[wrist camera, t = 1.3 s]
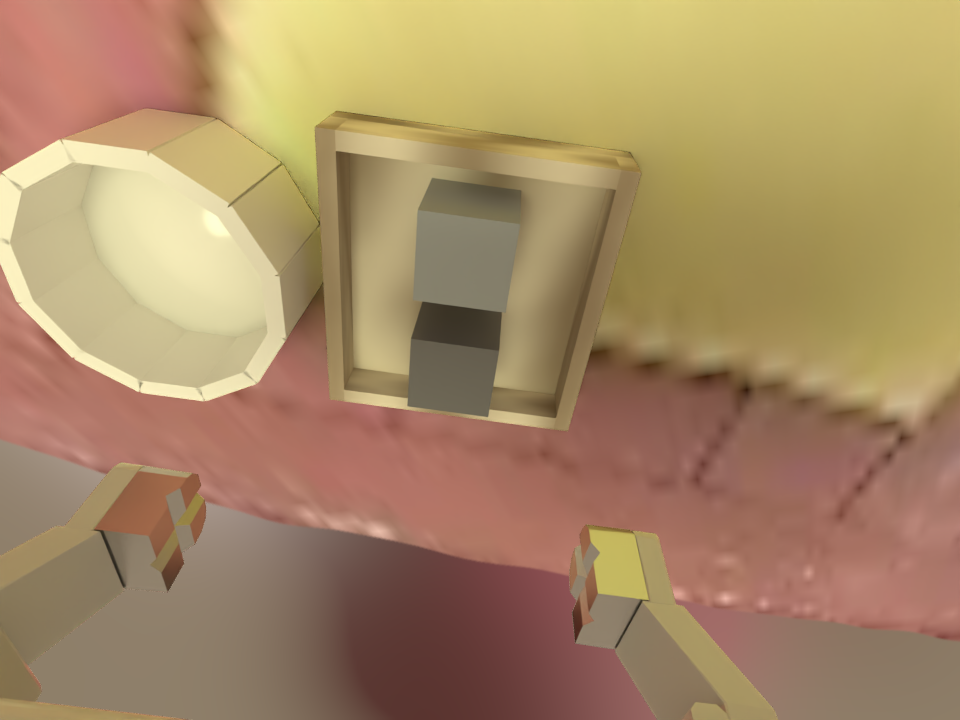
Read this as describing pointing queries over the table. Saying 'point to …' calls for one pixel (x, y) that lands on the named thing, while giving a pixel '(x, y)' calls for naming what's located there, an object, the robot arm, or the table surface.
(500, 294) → the taupe cube
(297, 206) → the bowl
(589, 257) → the parts tray
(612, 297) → the table surface
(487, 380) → the charcoal cube
